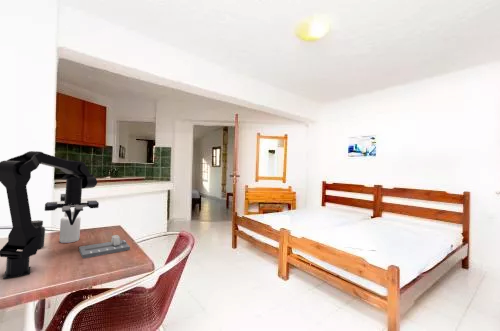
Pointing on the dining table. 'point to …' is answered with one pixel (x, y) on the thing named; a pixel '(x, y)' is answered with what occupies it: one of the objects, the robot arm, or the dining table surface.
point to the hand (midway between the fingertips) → (71, 224)
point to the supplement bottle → (39, 224)
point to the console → (102, 249)
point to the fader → (115, 240)
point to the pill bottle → (69, 229)
